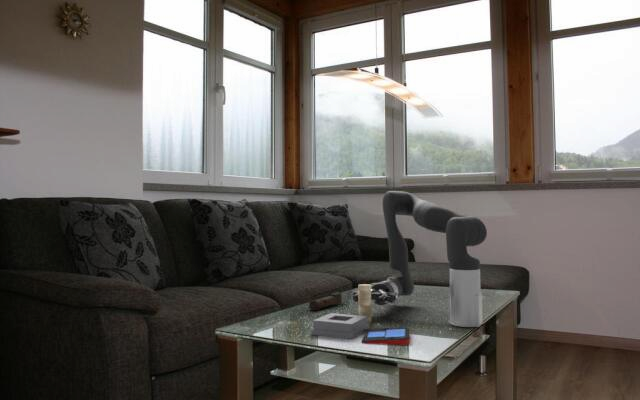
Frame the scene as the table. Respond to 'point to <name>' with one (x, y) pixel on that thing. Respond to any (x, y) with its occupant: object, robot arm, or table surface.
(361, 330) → the tool holder
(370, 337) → the game console
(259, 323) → the table surface
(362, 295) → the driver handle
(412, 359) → the table surface
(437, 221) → the robot arm
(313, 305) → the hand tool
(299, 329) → the table surface
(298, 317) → the table surface
